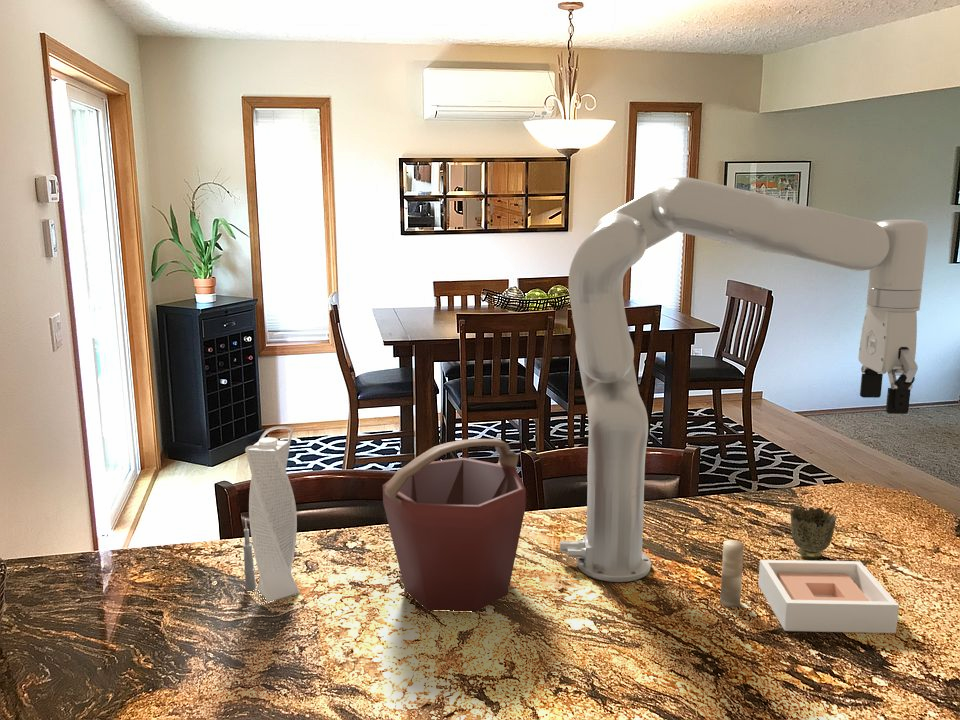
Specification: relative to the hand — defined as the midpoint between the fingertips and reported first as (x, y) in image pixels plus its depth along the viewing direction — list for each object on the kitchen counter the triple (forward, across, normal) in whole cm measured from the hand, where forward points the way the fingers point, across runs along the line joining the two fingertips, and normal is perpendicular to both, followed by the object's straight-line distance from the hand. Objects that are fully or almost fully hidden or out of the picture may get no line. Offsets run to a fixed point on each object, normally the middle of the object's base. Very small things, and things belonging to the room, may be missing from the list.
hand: (882, 404), depth 130 cm
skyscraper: (+30, +9, -98) cm, 103 cm away
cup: (+30, -6, -7) cm, 31 cm away
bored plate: (+30, +12, -11) cm, 34 cm away
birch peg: (+30, +11, -25) cm, 40 cm away
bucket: (+30, +7, -68) cm, 75 cm away
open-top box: (+30, +12, -11) cm, 34 cm away
